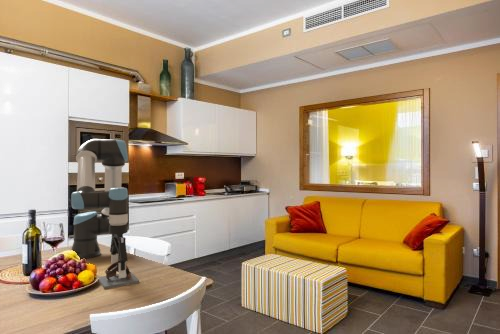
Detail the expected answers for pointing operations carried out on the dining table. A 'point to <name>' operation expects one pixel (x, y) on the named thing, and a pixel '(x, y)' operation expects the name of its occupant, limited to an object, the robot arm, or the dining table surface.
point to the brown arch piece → (113, 272)
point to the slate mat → (117, 281)
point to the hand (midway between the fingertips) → (118, 273)
